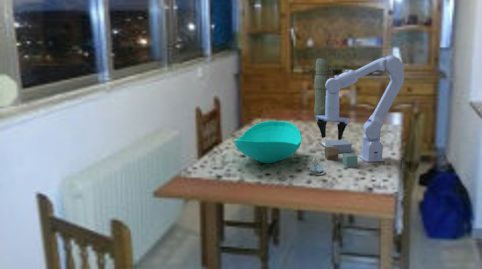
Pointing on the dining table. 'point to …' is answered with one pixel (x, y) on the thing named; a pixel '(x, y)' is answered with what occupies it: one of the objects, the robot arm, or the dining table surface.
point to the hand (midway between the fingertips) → (331, 138)
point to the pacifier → (316, 168)
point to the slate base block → (339, 145)
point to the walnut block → (331, 153)
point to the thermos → (320, 84)
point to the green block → (350, 160)
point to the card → (322, 144)
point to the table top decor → (270, 141)
